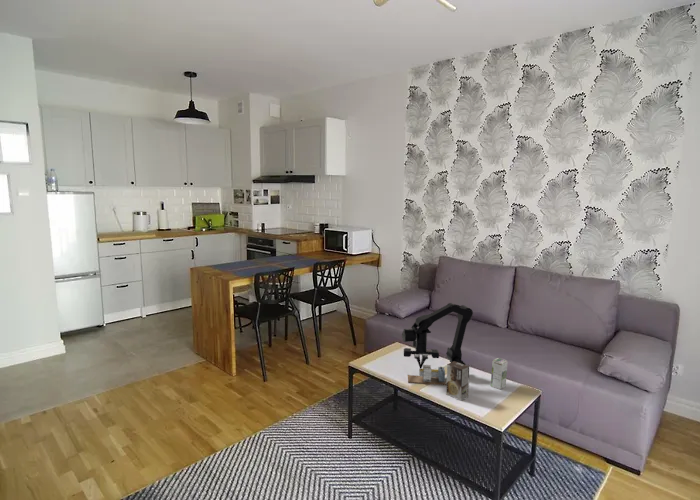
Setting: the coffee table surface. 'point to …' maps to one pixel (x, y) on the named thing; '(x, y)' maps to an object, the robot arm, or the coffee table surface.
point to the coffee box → (457, 380)
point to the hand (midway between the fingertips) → (420, 368)
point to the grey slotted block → (427, 373)
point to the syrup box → (499, 373)
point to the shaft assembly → (436, 373)
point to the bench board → (420, 380)
